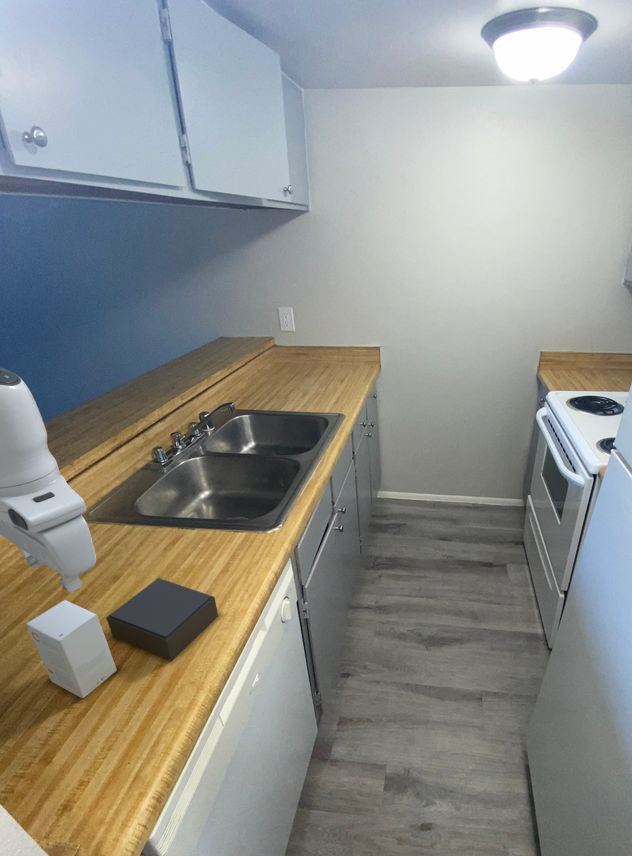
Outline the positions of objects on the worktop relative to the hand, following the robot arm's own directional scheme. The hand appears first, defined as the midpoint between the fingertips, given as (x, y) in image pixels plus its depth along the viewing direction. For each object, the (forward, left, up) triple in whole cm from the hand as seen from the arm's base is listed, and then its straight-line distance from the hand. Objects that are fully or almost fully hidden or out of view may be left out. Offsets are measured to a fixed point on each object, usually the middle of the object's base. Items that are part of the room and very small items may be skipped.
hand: (54, 576), depth 67 cm
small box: (-4, +1, -24) cm, 24 cm away
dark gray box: (0, +15, -23) cm, 28 cm away
